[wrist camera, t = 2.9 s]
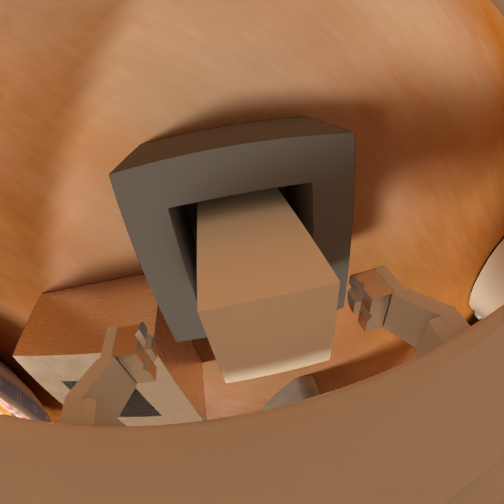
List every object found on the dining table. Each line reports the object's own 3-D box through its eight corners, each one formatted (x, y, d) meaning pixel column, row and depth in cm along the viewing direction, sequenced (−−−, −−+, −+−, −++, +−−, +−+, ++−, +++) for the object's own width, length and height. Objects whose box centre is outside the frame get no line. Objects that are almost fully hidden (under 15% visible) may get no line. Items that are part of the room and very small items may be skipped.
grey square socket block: (306, 116, 15) (354, 132, 10) (311, 252, 21) (343, 307, 16) (139, 144, 14) (108, 174, 10) (179, 278, 20) (176, 342, 15)
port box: (162, 270, 19) (152, 347, 14) (202, 363, 26) (207, 425, 20) (41, 293, 19) (12, 355, 13) (101, 373, 25) (92, 427, 20)
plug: (266, 172, 16) (340, 281, 8) (272, 231, 18) (329, 359, 10) (198, 185, 16) (197, 311, 7) (211, 243, 18) (225, 383, 10)
